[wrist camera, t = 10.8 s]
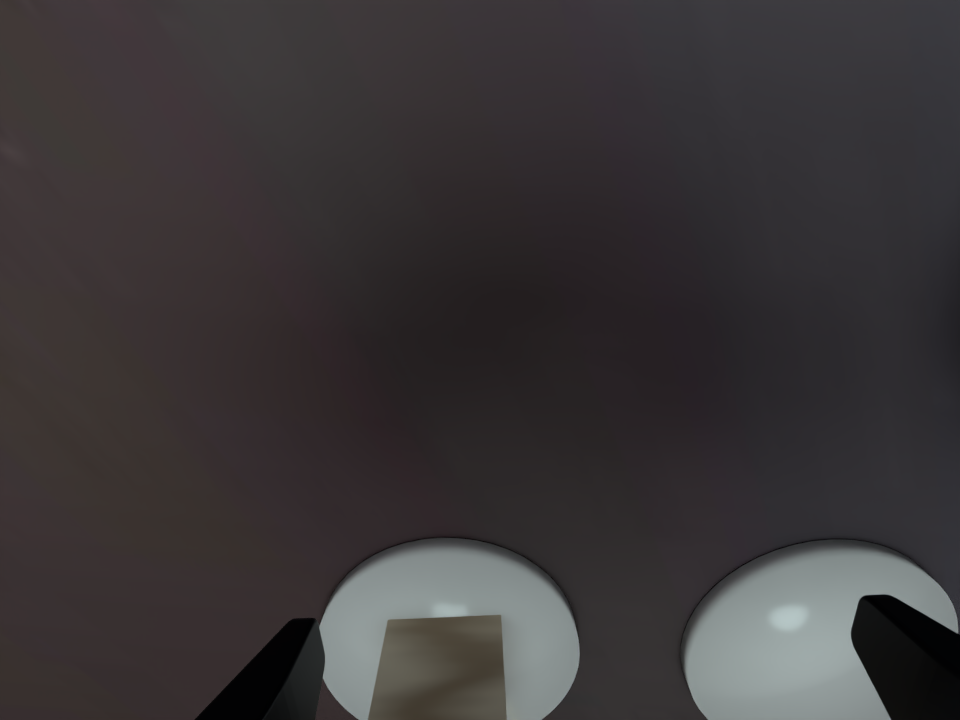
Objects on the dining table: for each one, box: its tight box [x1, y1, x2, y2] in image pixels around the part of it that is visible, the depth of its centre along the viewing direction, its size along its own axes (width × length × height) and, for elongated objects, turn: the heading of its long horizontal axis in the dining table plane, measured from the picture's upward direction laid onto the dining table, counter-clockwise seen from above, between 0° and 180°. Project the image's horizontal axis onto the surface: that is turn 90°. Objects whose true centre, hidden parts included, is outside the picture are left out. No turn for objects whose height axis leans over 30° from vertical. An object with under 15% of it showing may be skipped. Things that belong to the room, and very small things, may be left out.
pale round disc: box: [319, 538, 580, 720], centre depth 25 cm, size 12×12×1 cm
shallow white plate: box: [680, 539, 958, 720], centre depth 25 cm, size 12×12×1 cm
